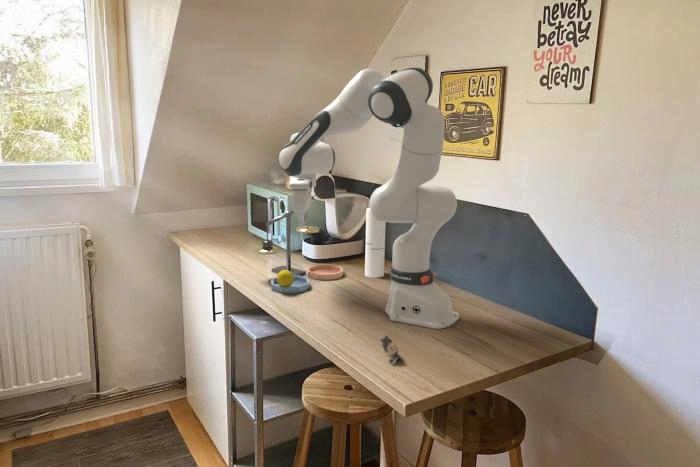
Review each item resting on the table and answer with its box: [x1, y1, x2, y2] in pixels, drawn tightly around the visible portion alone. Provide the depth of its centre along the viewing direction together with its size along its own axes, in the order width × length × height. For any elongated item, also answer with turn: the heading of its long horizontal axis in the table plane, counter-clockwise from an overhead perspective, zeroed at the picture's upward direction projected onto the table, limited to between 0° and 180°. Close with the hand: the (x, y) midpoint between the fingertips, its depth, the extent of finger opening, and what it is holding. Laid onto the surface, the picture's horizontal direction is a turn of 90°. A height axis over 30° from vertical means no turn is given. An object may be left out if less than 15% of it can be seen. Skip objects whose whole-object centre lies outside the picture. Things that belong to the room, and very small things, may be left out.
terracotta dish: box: [306, 263, 344, 281], centre depth 203 cm, size 13×13×2 cm
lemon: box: [276, 270, 294, 287], centre depth 183 cm, size 6×6×8 cm
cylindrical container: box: [364, 207, 387, 279], centre depth 202 cm, size 7×7×25 cm
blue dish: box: [270, 276, 310, 295], centre depth 188 cm, size 13×13×2 cm
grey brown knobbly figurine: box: [379, 334, 404, 366], centre depth 135 cm, size 5×5×6 cm
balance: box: [254, 210, 320, 277], centre depth 202 cm, size 31×12×25 cm, turn 143°
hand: (303, 222), depth 184 cm, fingers open, 8 cm apart
